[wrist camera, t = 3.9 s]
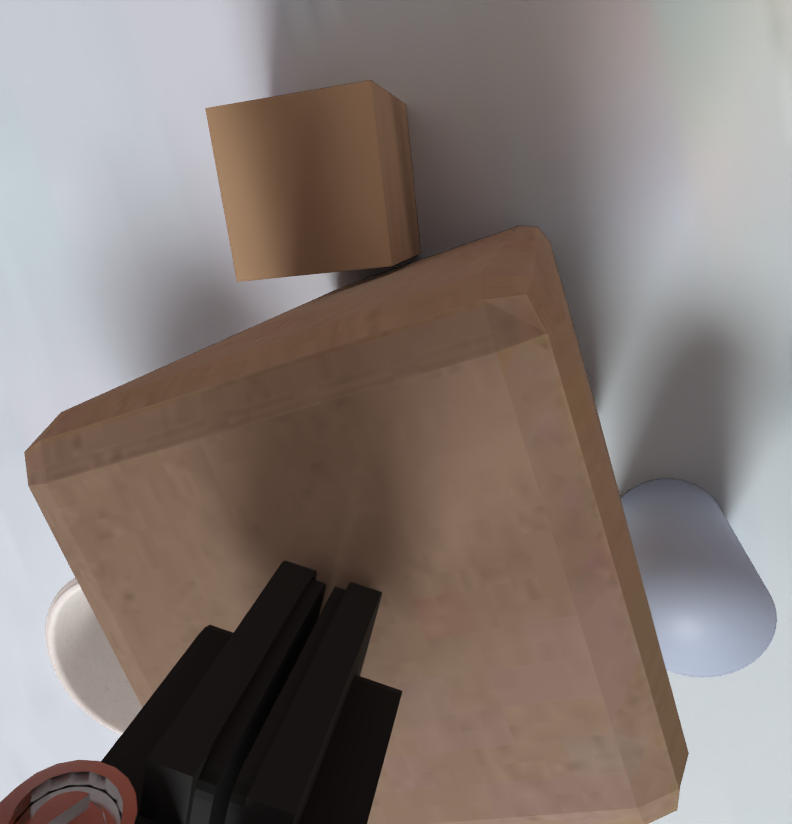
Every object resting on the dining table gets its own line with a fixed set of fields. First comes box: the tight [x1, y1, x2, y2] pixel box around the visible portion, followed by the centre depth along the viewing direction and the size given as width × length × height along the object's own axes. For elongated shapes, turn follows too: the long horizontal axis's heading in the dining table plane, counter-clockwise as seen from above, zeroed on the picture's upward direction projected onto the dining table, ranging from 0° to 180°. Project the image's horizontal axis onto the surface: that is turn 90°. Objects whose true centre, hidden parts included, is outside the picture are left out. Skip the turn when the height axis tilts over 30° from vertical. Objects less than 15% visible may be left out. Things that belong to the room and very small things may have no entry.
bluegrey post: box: [621, 479, 777, 677], centre depth 27 cm, size 5×5×7 cm
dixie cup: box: [45, 578, 142, 735], centre depth 30 cm, size 8×8×10 cm
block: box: [25, 226, 689, 824], centre depth 20 cm, size 10×10×20 cm
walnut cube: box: [205, 80, 421, 282], centre depth 25 cm, size 6×6×6 cm
